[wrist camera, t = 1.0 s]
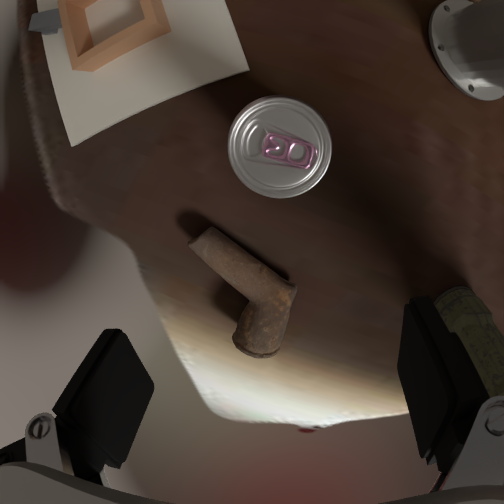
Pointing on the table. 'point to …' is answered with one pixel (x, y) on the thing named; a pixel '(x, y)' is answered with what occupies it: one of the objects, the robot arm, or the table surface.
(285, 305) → the pipe
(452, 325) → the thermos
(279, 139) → the beverage can
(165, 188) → the table surface
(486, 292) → the table surface
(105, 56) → the white board with box
